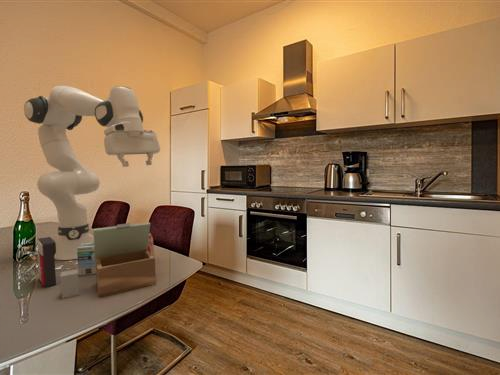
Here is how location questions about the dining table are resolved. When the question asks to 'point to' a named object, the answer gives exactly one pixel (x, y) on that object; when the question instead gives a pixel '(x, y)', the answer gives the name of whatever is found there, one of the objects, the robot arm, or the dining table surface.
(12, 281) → the dining table surface
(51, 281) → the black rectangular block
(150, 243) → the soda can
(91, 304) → the dining table surface
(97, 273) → the storage box
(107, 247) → the lid
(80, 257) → the light bulb box
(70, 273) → the block
